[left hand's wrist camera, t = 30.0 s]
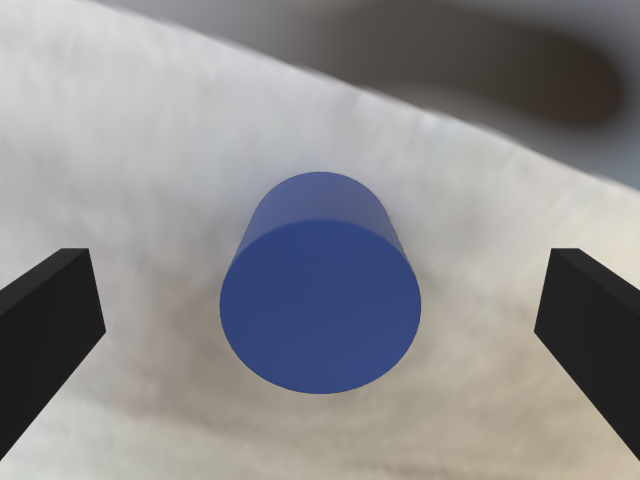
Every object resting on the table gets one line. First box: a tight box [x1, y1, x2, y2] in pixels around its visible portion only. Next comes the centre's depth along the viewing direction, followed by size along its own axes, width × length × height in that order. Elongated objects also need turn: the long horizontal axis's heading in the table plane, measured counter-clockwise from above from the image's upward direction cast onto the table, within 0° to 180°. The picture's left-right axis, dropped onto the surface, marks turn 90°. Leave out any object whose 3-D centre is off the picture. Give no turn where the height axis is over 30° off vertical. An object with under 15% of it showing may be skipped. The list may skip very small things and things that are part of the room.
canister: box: [220, 172, 421, 394], centre depth 13 cm, size 5×5×5 cm
